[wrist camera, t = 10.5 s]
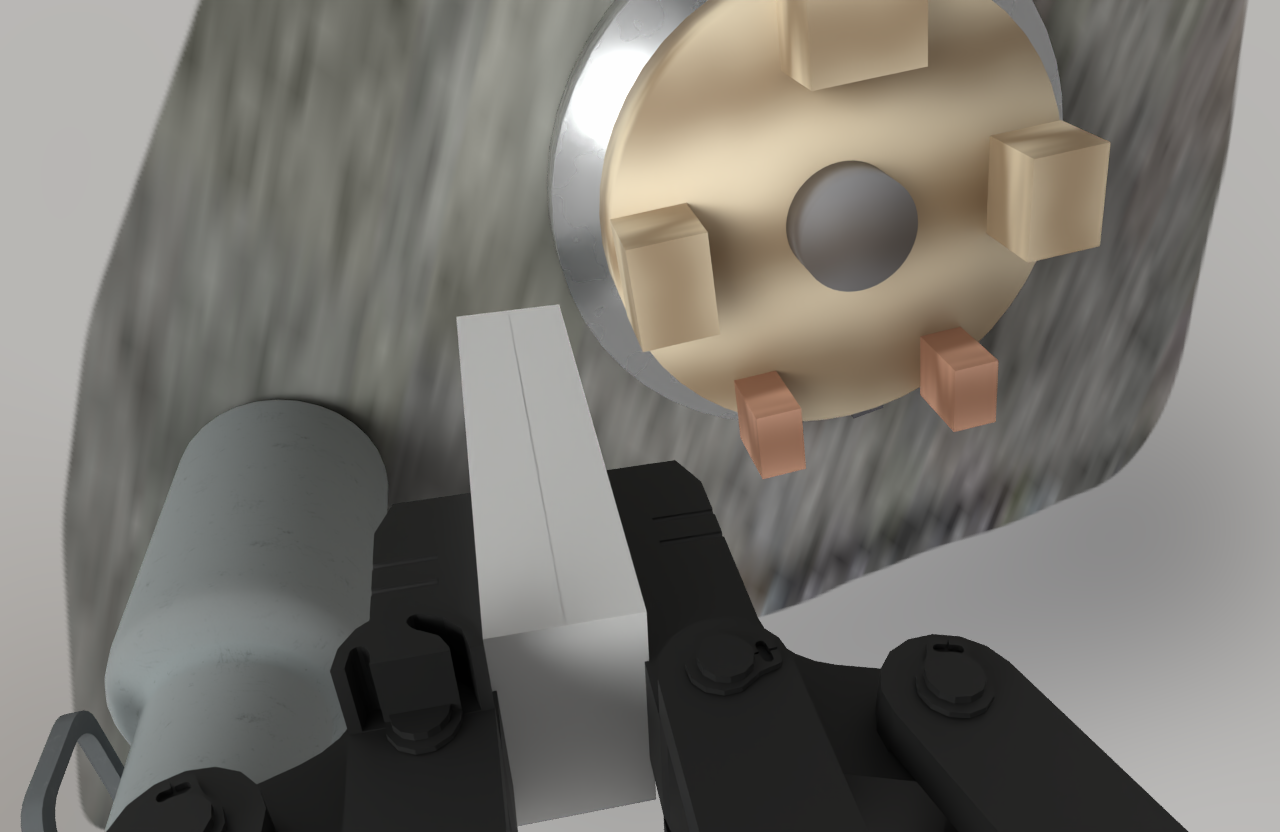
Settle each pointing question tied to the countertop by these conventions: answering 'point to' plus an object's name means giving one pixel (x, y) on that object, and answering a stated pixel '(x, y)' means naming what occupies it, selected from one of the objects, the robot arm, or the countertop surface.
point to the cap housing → (576, 157)
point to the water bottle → (236, 608)
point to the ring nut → (839, 206)
